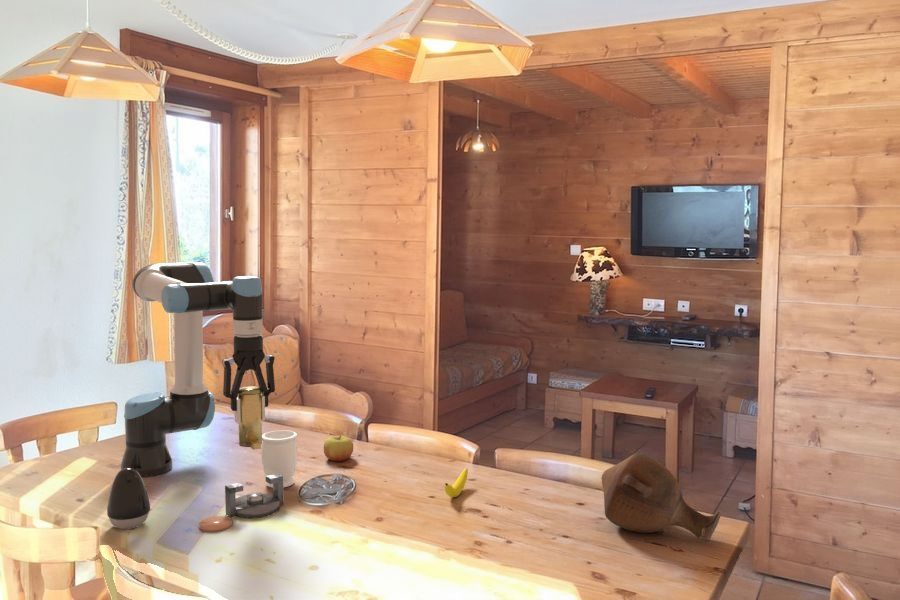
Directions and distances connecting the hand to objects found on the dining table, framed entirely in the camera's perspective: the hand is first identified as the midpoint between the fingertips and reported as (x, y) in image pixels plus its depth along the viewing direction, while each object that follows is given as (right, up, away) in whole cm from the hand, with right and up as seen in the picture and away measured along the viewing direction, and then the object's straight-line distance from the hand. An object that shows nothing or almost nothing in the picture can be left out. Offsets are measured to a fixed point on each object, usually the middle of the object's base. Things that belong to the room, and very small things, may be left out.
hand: (250, 420), depth 209 cm
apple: (+17, -20, +47) cm, 54 cm away
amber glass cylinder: (0, -6, +1) cm, 6 cm away
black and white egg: (-29, -26, -8) cm, 40 cm away
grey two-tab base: (0, -25, +4) cm, 25 cm away
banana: (+55, -24, +16) cm, 62 cm away
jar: (+3, -23, +24) cm, 33 cm away
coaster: (-7, -26, -8) cm, 28 cm away
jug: (+106, -27, -11) cm, 110 cm away
